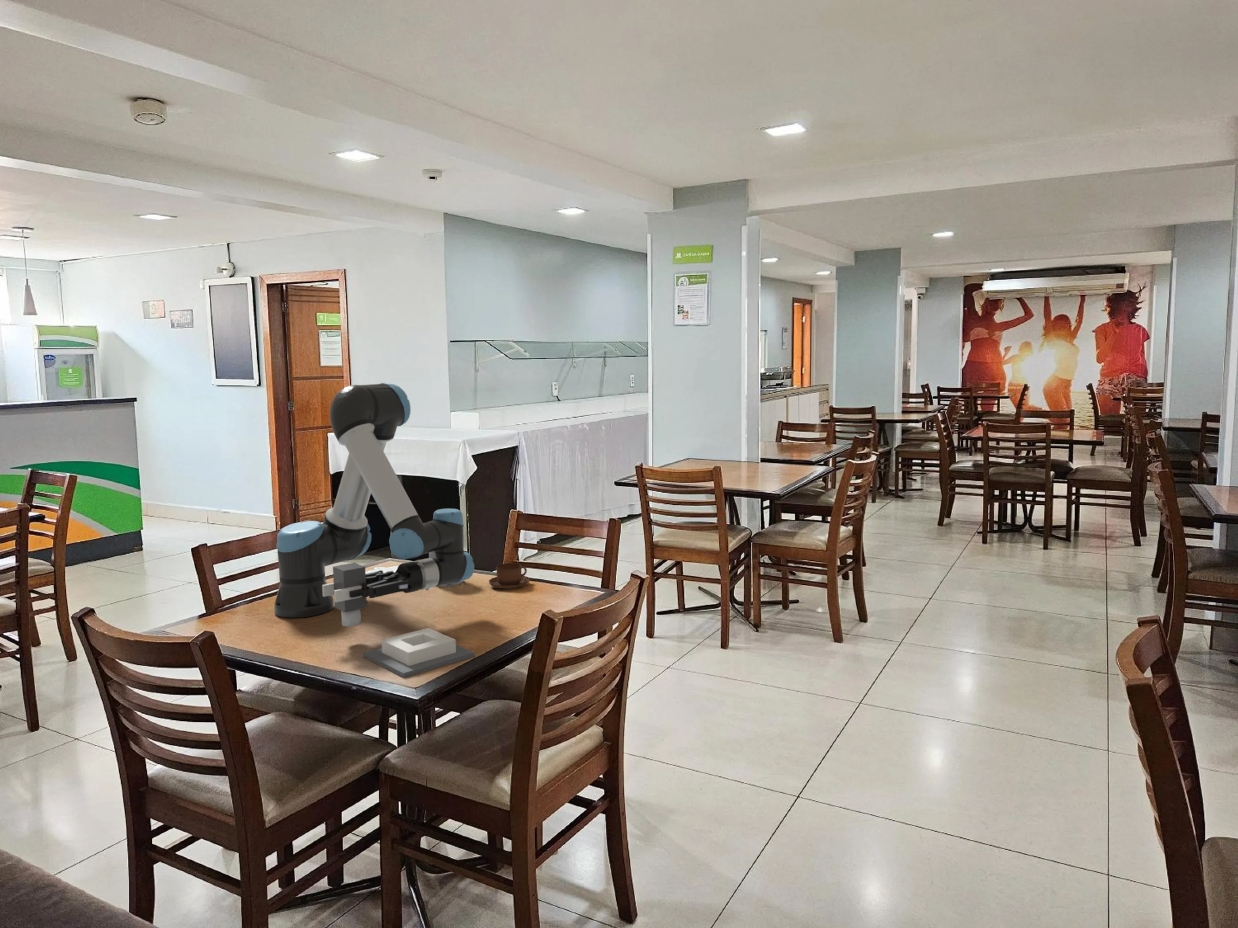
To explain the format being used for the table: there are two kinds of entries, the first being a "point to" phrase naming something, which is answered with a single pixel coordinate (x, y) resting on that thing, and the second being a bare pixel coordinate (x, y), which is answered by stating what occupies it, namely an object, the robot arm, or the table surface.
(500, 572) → the cup and saucer
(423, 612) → the table surface
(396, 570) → the mounting plate
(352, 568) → the plug
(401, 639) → the socket
